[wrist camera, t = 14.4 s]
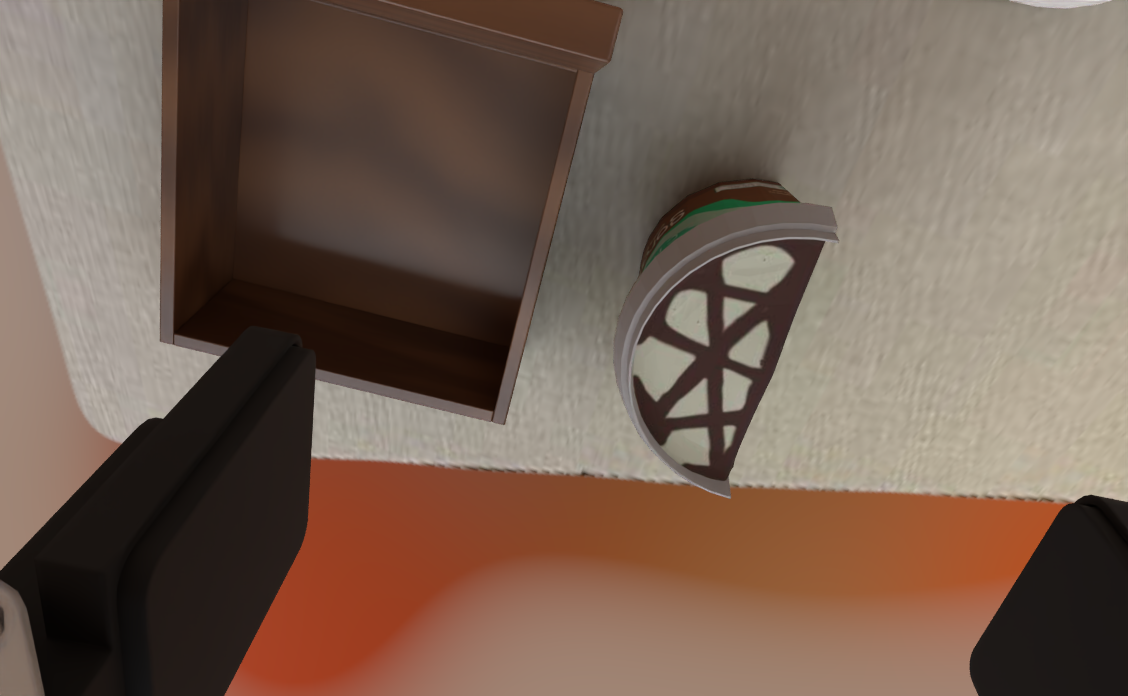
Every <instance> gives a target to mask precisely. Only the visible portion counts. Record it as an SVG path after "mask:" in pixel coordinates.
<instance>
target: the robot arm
mask: <svg viewBox="0 0 1128 696" xmlns="http://www.w3.org/2000/svg"><path fill="white" fill-rule="evenodd" d="M1009 1H1012V2H1017V3H1022V4H1026V5H1030V6H1035V7H1049V8H1065V9H1067V8H1075V7H1082V6H1090V5H1097V4H1102V3H1105V2H1108V1H1111V0H1009ZM315 371H316V355H315V352H314V350H311V349H306V348H303V347H302V340H301V337H300V336H299V335H297V334H292V333H287V332H282V331H277V330H272V329H268V328H263V327H258V326H250V327H248V328H247V329H246V330H245V331H244V332H243V333H242V334H241V335H240V336H239V337H238V338H237V340H236V341H235V342H234V343H233V344H232V345H231V346H230V347H229V348H228V349H227V350H226V351H225V353H224V354H223V355H222V356H221V357H220V358H219V359H218V360H217V361H216V362H215V363H214V364H213V366H212V367H211V368H210V369H209V370H208V371H207V372H206V373H205V374H204V375H203V376H202V377H201V379H200V380H199V381H198V382H197V383H196V384H195V385H194V386H193V387H192V388H191V389H190V390H189V392H188V393H187V394H186V395H185V396H184V397H183V398H182V399H181V400H180V401H179V402H178V403H177V405H176V406H175V407H174V408H173V409H172V410H171V411H170V412H169V413H168V414H167V415H166V416H165V418H164V419H161V418H152V419H148V420H146V421H145V422H144V423H143V424H141V425H140V426H139V427H138V428H137V429H136V430H135V431H134V432H133V433H132V434H131V435H130V436H129V437H128V438H127V439H126V440H125V441H124V442H123V443H122V444H121V445H120V446H119V447H118V449H117V450H116V451H115V452H114V453H113V454H112V455H111V456H110V457H109V458H108V459H107V460H106V461H105V462H104V463H103V464H102V465H101V466H100V467H99V468H98V470H96V471H95V473H94V474H93V475H92V476H91V477H90V478H89V479H88V480H87V481H86V482H85V483H84V484H83V485H82V486H81V487H80V488H79V489H78V490H77V491H76V492H75V493H74V494H73V495H72V497H71V498H70V499H69V500H68V501H67V502H66V503H65V504H64V505H63V506H62V507H61V508H60V509H59V510H58V511H57V512H56V513H55V514H54V515H53V516H52V517H51V518H50V519H49V521H48V522H47V523H46V524H45V525H44V526H43V527H42V528H41V529H40V530H39V531H38V532H37V533H36V534H35V535H34V536H33V537H32V538H31V539H30V540H29V541H28V543H27V544H26V545H25V546H24V547H23V548H22V549H21V550H20V551H19V552H18V553H17V554H16V555H15V556H14V557H13V558H12V559H11V560H10V561H9V562H8V563H7V564H6V566H4V568H3V569H2V570H1V571H0V696H224V695H225V693H226V691H227V689H228V687H229V685H230V683H231V681H232V680H233V678H234V676H235V674H236V672H237V670H238V668H239V666H240V664H241V662H242V660H243V658H244V656H245V654H246V652H247V651H248V648H249V647H250V645H251V643H252V641H253V639H254V637H255V635H256V633H257V631H258V629H259V627H260V625H261V623H262V622H263V620H264V618H265V616H266V614H267V612H268V610H269V608H270V606H271V604H272V602H273V600H274V598H275V596H276V595H277V593H278V591H279V589H280V587H281V585H282V583H283V581H284V579H285V577H286V575H287V573H288V571H289V569H290V567H291V566H292V564H293V562H294V560H295V558H296V556H297V554H298V552H299V550H300V548H301V545H302V542H303V540H304V536H305V532H306V528H307V522H308V506H309V505H308V504H309V487H310V467H311V448H312V429H313V409H314V390H315ZM970 675H971V679H972V682H973V684H974V686H975V689H976V691H977V693H978V695H979V696H1128V502H1124V501H1119V500H1114V499H1109V498H1104V497H1099V496H1094V495H1088V496H1083V497H1082V498H1080V499H1078V500H1077V501H1076V502H1075V503H1072V504H1068V505H1066V506H1064V507H1063V508H1062V509H1061V511H1060V512H1059V513H1058V515H1057V516H1056V518H1055V520H1054V521H1053V523H1052V525H1051V526H1050V528H1049V529H1048V531H1047V532H1046V534H1045V536H1044V537H1043V539H1042V540H1041V542H1040V544H1039V545H1038V547H1037V548H1036V550H1035V552H1034V553H1033V555H1032V556H1031V558H1030V560H1029V561H1028V563H1027V564H1026V566H1025V568H1024V569H1023V571H1022V572H1021V574H1020V576H1019V577H1018V579H1017V580H1016V582H1015V584H1014V585H1013V587H1012V588H1011V590H1010V592H1009V593H1008V595H1007V596H1006V598H1005V600H1004V601H1003V603H1002V604H1001V606H1000V608H999V609H998V611H997V612H996V614H995V616H994V617H993V619H992V620H991V622H990V624H989V625H988V627H987V628H986V630H985V632H984V633H983V635H982V636H981V638H980V640H979V641H978V643H977V644H976V646H975V648H974V649H973V652H972V654H971V658H970Z"/></svg>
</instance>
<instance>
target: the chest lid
mask: <svg viewBox="0 0 1128 696" xmlns="http://www.w3.org/2000/svg"><path fill="white" fill-rule="evenodd" d="M323 1H326V2H330V3H334V4H337V5H341V6H345V7H348V8H352V9H356V10H360V11H363V12H367V13H371V14H374V15H378V16H382V17H386V18H389V19H393V20H397V21H400V22H404V23H408V24H411V25H415V26H419V27H423V28H426V29H430V30H434V31H437V32H441V33H445V34H448V35H452V36H456V37H460V38H463V39H467V40H471V41H474V42H478V43H482V44H486V45H489V46H493V47H497V48H500V49H504V50H508V51H511V52H515V53H519V54H523V55H526V56H530V57H534V58H537V59H541V60H545V61H548V62H552V63H556V64H560V65H563V66H567V67H571V68H574V69H578V70H582V71H586V72H589V73H595V72H597V71H598V70H600V69H601V68H602V67H604V66H605V65H607V64H608V63H609V62H610V61H611V58H612V54H613V50H614V46H615V42H616V38H617V34H618V31H619V27H620V23H621V19H622V15H623V9H621V8H619V7H616V6H612V5H609V4H605V3H601V2H598V1H594V0H323Z"/></svg>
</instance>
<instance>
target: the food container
mask: <svg viewBox="0 0 1128 696" xmlns="http://www.w3.org/2000/svg"><path fill="white" fill-rule="evenodd" d="M837 228H838V227H837V223H836V220H835V216H834V213H833V210H832V207H827V206H821V205H815V204H809V203H800V202H799V201H798V200H797V199H796V198H795V197H794V196H793V195H792V194H790V193H789V192H788V191H787V190H786V189H785V188H784V187H783V186H782V185H781V184H779V183H776V182H770V181H764V180H757V179H748V180H739V181H730V182H721V183H717V184H715V185H712V186H710V187H708V188H705V189H703V190H700V191H698V192H696V193H693V194H691V195H689V196H687V197H686V198H685V199H683V200H682V201H681V202H680V203H679V204H677V205H676V206H675V207H674V208H673V209H671V210H670V211H669V212H668V213H667V214H665V215H664V216H663V217H662V219H661V220H660V222H659V223H658V225H657V226H656V228H655V229H654V231H653V232H652V234H651V235H650V237H649V239H648V242H647V244H646V247H645V249H644V252H643V257H642V262H641V267H640V274H639V277H638V279H637V281H636V282H635V284H634V286H633V287H632V289H631V291H630V292H629V294H628V296H627V298H626V300H625V303H624V305H623V308H622V310H621V313H620V316H619V318H618V323H617V328H616V332H615V337H614V358H613V363H614V369H615V375H616V382H617V385H618V388H619V391H620V394H621V397H622V399H623V402H624V405H625V407H626V410H627V412H628V414H629V417H630V419H631V421H632V423H633V424H634V426H635V428H636V430H637V432H638V433H639V435H640V437H641V438H642V439H643V441H644V442H645V443H646V444H647V446H648V447H649V448H650V449H651V451H652V452H653V453H654V454H655V455H656V456H657V457H658V458H659V459H660V460H661V461H662V462H663V463H665V464H666V465H667V466H668V467H669V468H670V469H671V470H672V471H673V472H675V473H676V474H678V475H679V476H681V477H682V478H684V479H685V480H687V481H688V482H690V483H691V484H693V485H695V486H698V487H700V488H702V489H704V490H706V491H708V492H711V493H714V494H717V495H720V496H723V497H727V498H731V494H730V485H729V473H730V471H731V469H732V468H733V465H734V461H735V458H736V455H737V452H738V449H739V447H740V445H741V442H742V440H743V438H744V435H745V433H746V431H747V428H748V426H749V424H750V422H751V420H752V417H753V415H754V413H755V411H756V409H757V406H758V404H759V402H760V400H761V398H762V396H763V394H764V392H765V390H766V388H767V386H768V384H769V382H770V380H771V378H772V376H773V373H774V371H775V368H776V365H777V363H778V360H779V357H780V354H781V352H782V349H783V346H784V343H785V340H786V338H787V335H788V332H789V330H790V327H791V324H792V322H793V319H794V316H795V314H796V311H797V309H798V306H799V304H800V301H801V299H802V296H803V294H804V292H805V289H806V287H807V284H808V282H809V279H810V277H811V275H812V272H813V270H814V267H815V265H816V263H817V260H818V258H819V255H820V253H821V250H822V248H823V245H824V243H825V241H827V242H834V243H839V239H838V238H837V236H836V234H835V233H836V231H837Z"/></svg>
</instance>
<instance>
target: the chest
mask: <svg viewBox="0 0 1128 696" xmlns="http://www.w3.org/2000/svg"><path fill="white" fill-rule="evenodd" d="M593 77H594V73H589V72H586V71H582V70H578V69H574V68H571V67H567V66H563V65H560V64H556V63H552V62H548V61H545V60H541V59H537V58H534V57H530V56H526V55H523V54H519V53H515V52H511V51H508V50H504V49H500V48H497V47H493V46H489V45H486V44H482V43H478V42H474V41H471V40H467V39H463V38H460V37H456V36H452V35H448V34H445V33H441V32H437V31H434V30H430V29H426V28H423V27H419V26H415V25H411V24H408V23H404V22H400V21H397V20H393V19H389V18H386V17H382V16H378V15H374V14H371V13H367V12H363V11H360V10H356V9H352V8H348V7H345V6H341V5H337V4H334V3H330V2H326V1H323V0H163V39H162V157H161V276H160V342H164V343H168V344H172V345H173V344H174V345H176V346H180V347H184V348H188V349H192V350H196V351H201V352H205V353H209V354H213V355H217V356H222V355H223V354H224V353H225V351H226V350H227V349H228V348H229V347H230V346H231V345H232V344H233V343H234V342H235V341H236V340H237V338H238V337H239V336H240V335H241V334H242V333H243V332H244V331H245V330H246V329H247V328H248V327H250V326H258V327H263V328H268V329H272V330H277V331H282V332H287V333H292V334H297V335H299V336H300V337H301V340H302V347H303V348H306V349H311V350H314V352H315V355H316V371H315V379H316V380H320V381H324V382H328V383H332V384H336V385H341V386H345V387H349V388H353V389H357V390H361V391H365V392H369V393H374V394H378V395H382V396H386V397H390V398H394V399H398V400H402V401H406V402H411V403H415V404H419V405H423V406H427V407H431V408H435V409H439V410H444V411H448V412H452V413H456V414H460V415H464V416H468V417H472V418H477V419H481V420H485V421H489V422H491V421H492V422H494V423H498V424H502V425H504V424H505V422H506V418H507V414H508V410H509V406H510V402H511V398H512V394H513V391H514V387H515V383H516V379H517V375H518V371H519V367H520V363H521V359H522V355H523V351H524V347H525V344H526V340H527V336H528V332H529V328H530V324H531V320H532V316H533V312H534V308H535V304H536V300H537V296H538V293H539V289H540V285H541V281H542V277H543V273H544V269H545V265H546V261H547V257H548V253H549V249H550V246H551V242H552V238H553V234H554V230H555V226H556V222H557V218H558V214H559V210H560V206H561V202H562V198H563V195H564V191H565V187H566V183H567V179H568V175H569V171H570V167H571V163H572V159H573V155H574V151H575V148H576V144H577V140H578V136H579V132H580V128H581V124H582V120H583V116H584V112H585V108H586V104H587V100H588V97H589V93H590V89H591V85H592V81H593Z"/></svg>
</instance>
